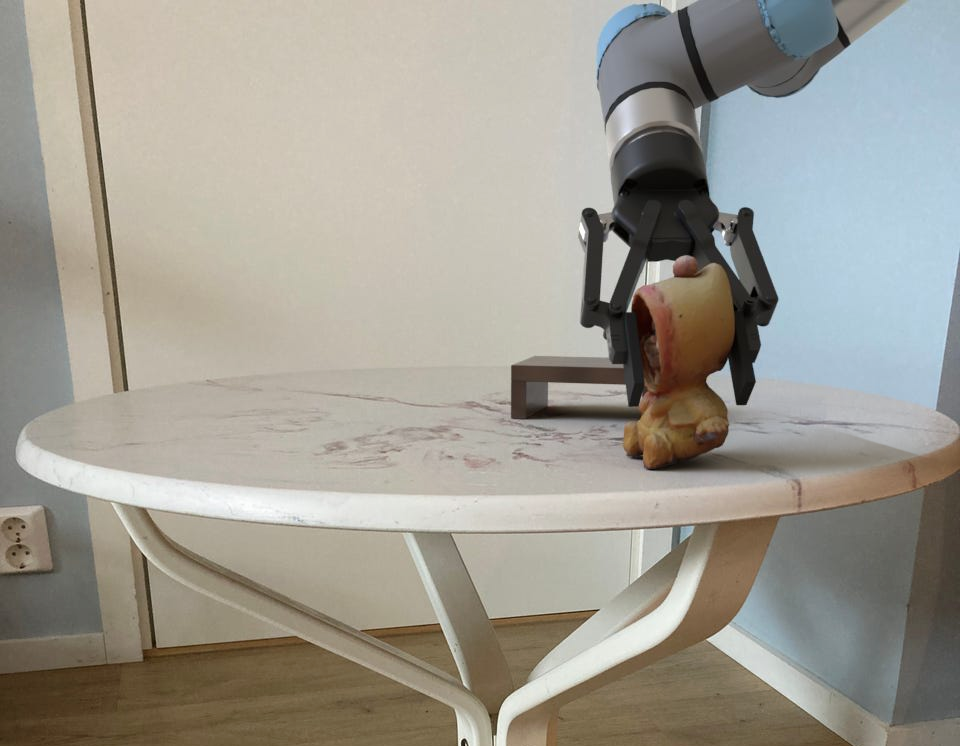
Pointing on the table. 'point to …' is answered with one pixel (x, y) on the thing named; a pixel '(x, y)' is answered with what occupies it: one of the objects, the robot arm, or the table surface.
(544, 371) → the shelf
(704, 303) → the figurine
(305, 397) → the table surface
